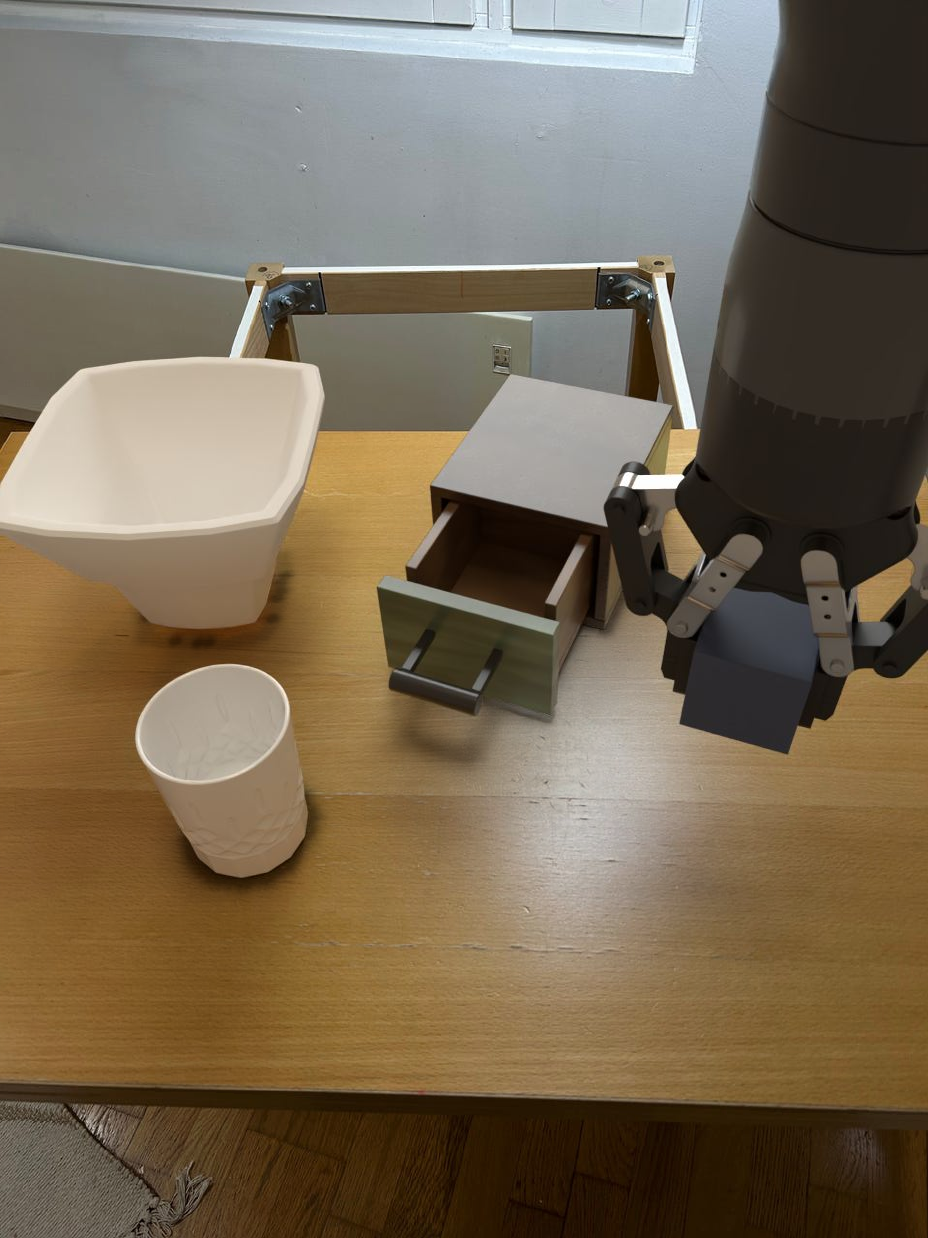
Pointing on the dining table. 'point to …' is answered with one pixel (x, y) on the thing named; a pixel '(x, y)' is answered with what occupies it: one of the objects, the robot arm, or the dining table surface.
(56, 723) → the dining table surface
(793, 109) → the robot arm
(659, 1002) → the dining table surface
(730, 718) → the block
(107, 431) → the bowl
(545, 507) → the cabinet
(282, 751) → the white cup
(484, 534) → the drawer
